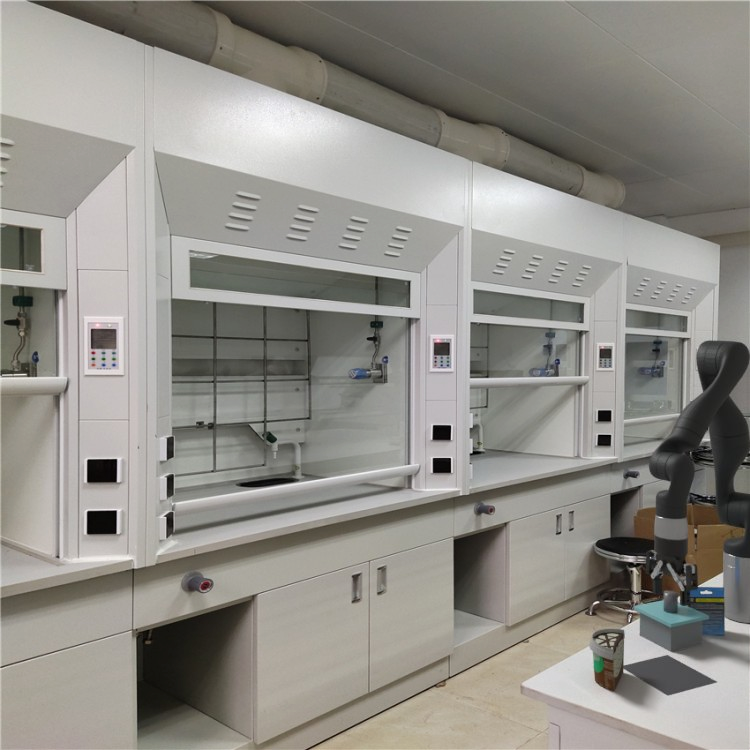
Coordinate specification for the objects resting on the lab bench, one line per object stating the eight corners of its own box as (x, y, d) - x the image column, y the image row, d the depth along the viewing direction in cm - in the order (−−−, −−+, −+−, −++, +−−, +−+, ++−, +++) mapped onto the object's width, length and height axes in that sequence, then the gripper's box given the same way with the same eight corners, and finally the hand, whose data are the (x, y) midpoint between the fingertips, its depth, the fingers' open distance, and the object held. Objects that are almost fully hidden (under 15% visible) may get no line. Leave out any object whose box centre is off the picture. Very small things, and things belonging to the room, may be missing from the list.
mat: (667, 657, 161) (667, 654, 161) (717, 684, 148) (717, 681, 148) (620, 668, 156) (620, 666, 156) (667, 698, 143) (667, 695, 143)
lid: (670, 601, 177) (670, 581, 177) (708, 618, 166) (709, 597, 166) (633, 609, 172) (633, 588, 172) (670, 627, 161) (670, 605, 161)
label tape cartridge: (718, 629, 176) (719, 582, 176) (725, 635, 172) (725, 587, 172) (682, 628, 177) (683, 581, 177) (688, 635, 173) (688, 586, 173)
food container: (596, 666, 157) (596, 623, 157) (624, 672, 154) (624, 628, 154) (582, 690, 147) (582, 644, 146) (612, 697, 144) (612, 650, 143)
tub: (670, 630, 176) (670, 603, 176) (702, 646, 167) (702, 618, 166) (639, 637, 172) (639, 610, 172) (670, 654, 163) (670, 625, 163)
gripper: (706, 539, 163) (705, 607, 164) (660, 525, 176) (660, 587, 177) (682, 543, 160) (682, 612, 161) (637, 528, 173) (637, 592, 174)
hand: (670, 599), depth 169 cm, fingers open, 8 cm apart
